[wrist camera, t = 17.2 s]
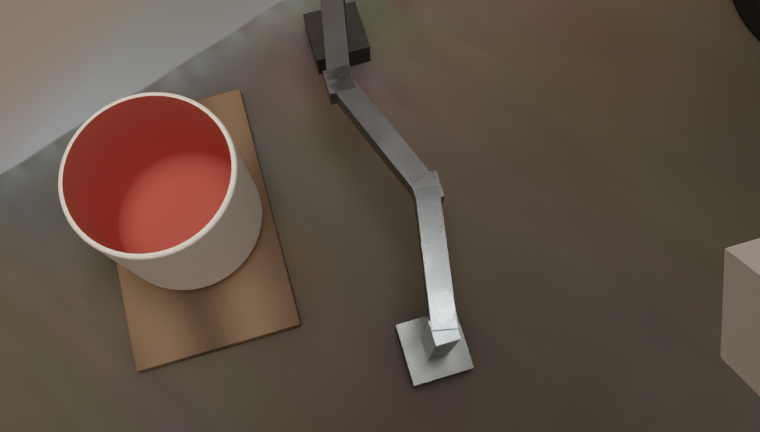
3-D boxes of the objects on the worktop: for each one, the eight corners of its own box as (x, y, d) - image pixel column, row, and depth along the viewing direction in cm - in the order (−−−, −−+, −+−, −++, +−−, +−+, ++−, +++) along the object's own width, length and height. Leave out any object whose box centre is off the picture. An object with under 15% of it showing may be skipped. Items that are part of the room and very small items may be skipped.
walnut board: (241, 94, 53) (239, 89, 52) (301, 325, 47) (300, 324, 47) (95, 132, 52) (91, 128, 51) (140, 372, 47) (136, 371, 46)
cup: (90, 235, 49) (19, 186, 39) (188, 129, 51) (143, 59, 41) (198, 324, 47) (151, 296, 37) (294, 210, 49) (273, 157, 39)
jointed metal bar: (359, 15, 55) (355, -70, 45) (474, 369, 47) (497, 353, 37) (302, 30, 54) (285, -53, 45) (408, 389, 46) (414, 378, 37)
